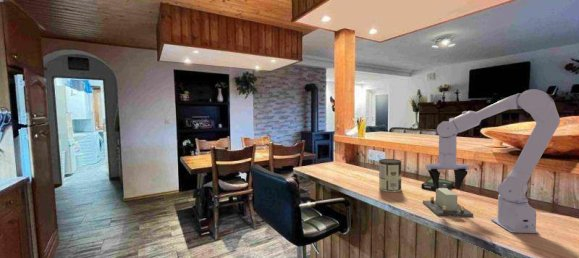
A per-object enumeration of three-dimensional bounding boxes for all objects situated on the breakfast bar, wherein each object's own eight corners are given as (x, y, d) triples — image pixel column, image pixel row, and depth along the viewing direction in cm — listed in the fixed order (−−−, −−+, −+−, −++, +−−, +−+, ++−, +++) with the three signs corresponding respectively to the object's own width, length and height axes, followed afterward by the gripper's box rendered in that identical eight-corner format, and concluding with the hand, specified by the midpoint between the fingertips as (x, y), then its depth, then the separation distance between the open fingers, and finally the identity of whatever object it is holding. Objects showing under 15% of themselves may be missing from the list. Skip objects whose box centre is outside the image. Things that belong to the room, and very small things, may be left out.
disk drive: (445, 194, 116) (453, 186, 126) (445, 188, 116) (453, 181, 126) (421, 189, 124) (431, 182, 134) (421, 184, 123) (431, 177, 134)
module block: (446, 202, 101) (446, 188, 101) (457, 210, 93) (457, 194, 93) (435, 202, 102) (435, 188, 101) (445, 210, 94) (445, 194, 93)
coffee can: (390, 184, 130) (390, 157, 129) (406, 190, 121) (406, 161, 120) (374, 187, 127) (374, 159, 126) (389, 193, 117) (389, 163, 116)
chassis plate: (473, 216, 90) (473, 208, 90) (437, 215, 92) (437, 207, 91) (453, 203, 103) (453, 196, 103) (422, 202, 104) (422, 195, 104)
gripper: (461, 151, 99) (461, 185, 100) (422, 151, 101) (422, 185, 102) (472, 154, 92) (472, 190, 93) (430, 154, 94) (430, 190, 95)
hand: (446, 188), depth 97 cm, fingers open, 7 cm apart
